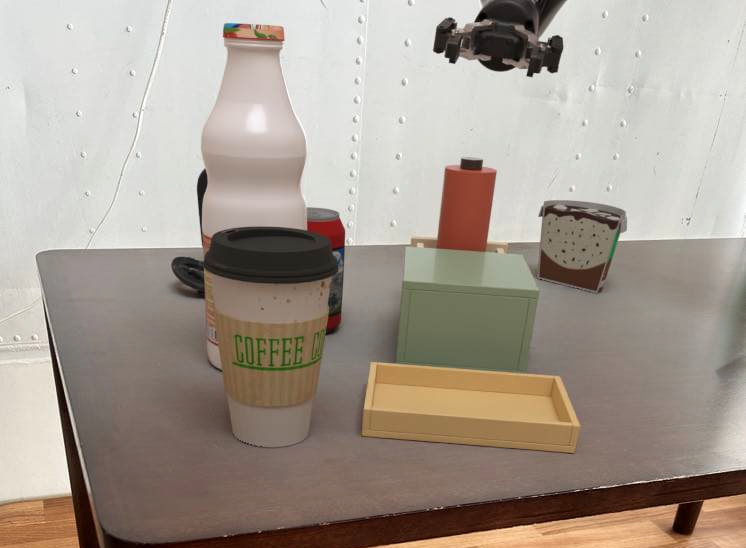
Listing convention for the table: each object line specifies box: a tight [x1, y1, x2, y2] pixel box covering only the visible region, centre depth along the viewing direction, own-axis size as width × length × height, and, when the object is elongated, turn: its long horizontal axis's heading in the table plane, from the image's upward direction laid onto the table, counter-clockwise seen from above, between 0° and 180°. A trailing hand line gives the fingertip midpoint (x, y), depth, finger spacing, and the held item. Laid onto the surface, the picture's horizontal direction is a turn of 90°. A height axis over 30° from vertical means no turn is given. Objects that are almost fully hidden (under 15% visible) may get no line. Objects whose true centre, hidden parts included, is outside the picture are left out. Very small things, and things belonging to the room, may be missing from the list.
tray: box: [361, 361, 581, 454], centre depth 70 cm, size 17×11×2 cm, turn 85°
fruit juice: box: [200, 22, 308, 371], centre depth 73 cm, size 9×9×28 cm
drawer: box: [409, 235, 509, 254], centre depth 95 cm, size 18×11×7 cm, turn 175°
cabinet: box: [395, 246, 541, 374], centre depth 84 cm, size 15×13×9 cm
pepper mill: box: [436, 156, 498, 252], centre depth 92 cm, size 6×6×15 cm
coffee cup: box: [202, 226, 339, 448], centre depth 62 cm, size 10×10×15 cm
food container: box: [536, 199, 628, 294], centre depth 110 cm, size 12×6×10 cm, turn 46°
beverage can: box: [306, 206, 346, 333], centre depth 87 cm, size 7×7×12 cm
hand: (492, 59), depth 88 cm, fingers open, 8 cm apart
